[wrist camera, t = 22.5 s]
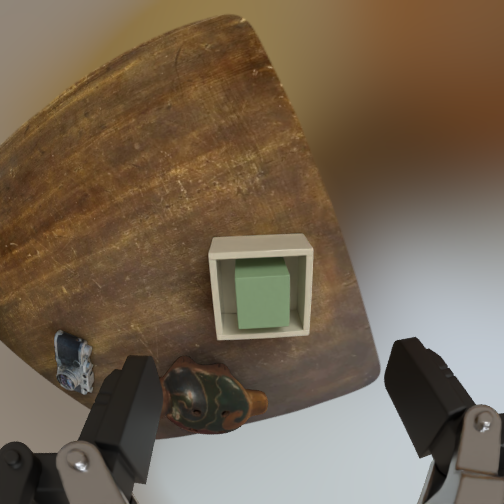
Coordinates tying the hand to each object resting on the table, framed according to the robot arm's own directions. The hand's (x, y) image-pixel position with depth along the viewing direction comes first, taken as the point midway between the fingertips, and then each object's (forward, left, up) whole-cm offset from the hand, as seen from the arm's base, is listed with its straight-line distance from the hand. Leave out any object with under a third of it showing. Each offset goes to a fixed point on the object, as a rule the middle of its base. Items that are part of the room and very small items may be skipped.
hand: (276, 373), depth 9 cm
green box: (+6, 0, -20) cm, 21 cm away
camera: (+17, -24, -21) cm, 37 cm away
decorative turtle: (+19, -6, -21) cm, 29 cm away
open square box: (+6, 0, -21) cm, 22 cm away
